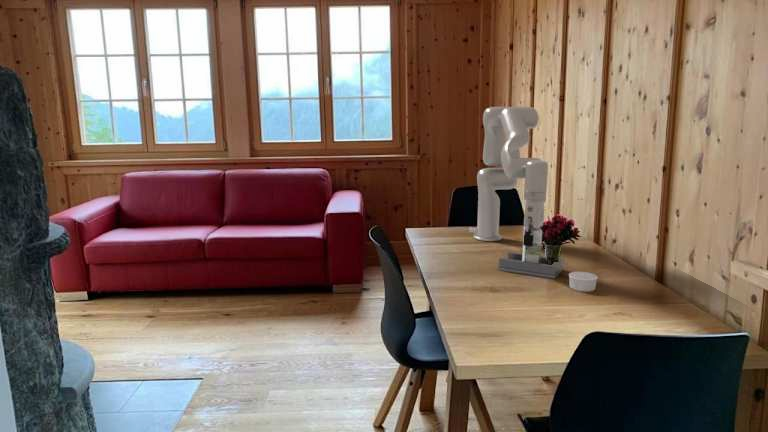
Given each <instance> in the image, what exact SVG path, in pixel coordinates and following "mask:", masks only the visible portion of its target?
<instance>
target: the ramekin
mask: <svg viewBox="0 0 768 432" xmlns="http://www.w3.org/2000/svg"><path fill="white" fill-rule="evenodd" d="M568 277H569V278H568V279H569V281H568V283H569V285H568V286H569V287H570V289H572V290H574V291H578V292H585V293H587V292H588V293H589V292H593V291H595V290H596V286H597V281H598V276H597V275H596V274H594V273H592V272H587V271H571V272H569V273H568Z"/></svg>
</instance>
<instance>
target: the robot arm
mask: <svg viewBox="0 0 768 432" xmlns="http://www.w3.org/2000/svg"><path fill="white" fill-rule="evenodd" d="M539 119H540V118H539V113H538V111H537V109H536V108H534V107H532V106H490V107H487V108H486V109H485V110H484V112H483V115H482V124H483V129H484V142H483V149H482V150H483V151H482V160H483V163H484V165H486V166H490V167H486V168H481V169H479V171H478V172H477V175H476V182H477V192H478V194H477V198H478V200H477V226H476V227H471V226H469V228H468V232H469V233H474V234H473V239H475V240H478V241H483V242H498V241H501V240H502V239H503V236H502V235H501V234H500V233H499V231H500V230H499V227H500V213H501V212H500V208H501V207H500V206H501V200H500V199H501V198H500V197H499V194H497V192H496V191H497V190H512V189H514V188H516V185H517V183H518V180H520V179H524V189H523V200H524V201H525V206H524V217H523V234H524V242H523V241H522V246H523V245H525V246H533V231H534V228H535V229H538V228H540V227H541V228H542V227H543V225H544V224H545V201H546V200H547V189H548V186H547V185H548V174H549V164H548V162H547V161H545V160H542V159H540V158H539V157H521V151H520V148H523V147H525V145H527V144H528V143H529V141H530V140H531V138H530V137H531V136H530V133H529V129H532V130H533V129H535V128H536V127H537V126H538V124H539ZM505 140H506V141H505ZM491 166H492V167H491ZM543 223H544V224H543ZM524 227H525V229H524ZM530 229H531V230H530Z"/></svg>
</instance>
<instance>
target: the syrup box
mask: <svg viewBox="0 0 768 432" xmlns="http://www.w3.org/2000/svg"><path fill="white" fill-rule="evenodd" d="M524 229H525V227H524V226H523V230H524ZM530 230H531V229H530ZM522 238H523V239H522V243H523V242H524V233H523V236H522ZM542 240H543V230H542V227H541V228H538V229H535V228H534V231H533V246H525V245H523V244H522V252H521V253H522V261H527V262H534V263H540V257H541V256H542V255H541V254H542V242H543V241H542Z"/></svg>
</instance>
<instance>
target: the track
mask: <svg viewBox="0 0 768 432" xmlns="http://www.w3.org/2000/svg"><path fill="white" fill-rule="evenodd" d="M546 257H547V256H543V255H541V257H540V263H534V262H527V261H522V252H514V251H508V252H507V257H506V258H505V257H500V258H499V259H498V267H497V270H498V271H503V272H508V273H514V274H515V273H516V274H523V275H527V276H534V277H542V278H546V279H547V278H548V279H556V278H557V277H558V275H559V274H560V273H561V272H562V271H563V270H564V259H563V258H559V262H554V263H553V264H552V265H548V264H547V262H546Z"/></svg>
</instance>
